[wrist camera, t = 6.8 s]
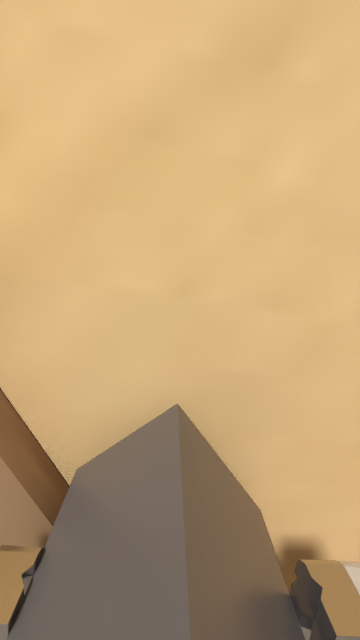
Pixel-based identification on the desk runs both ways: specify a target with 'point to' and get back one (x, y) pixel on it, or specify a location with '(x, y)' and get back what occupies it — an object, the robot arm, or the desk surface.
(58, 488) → the plank
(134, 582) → the gray-headed mallet
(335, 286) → the desk surface
